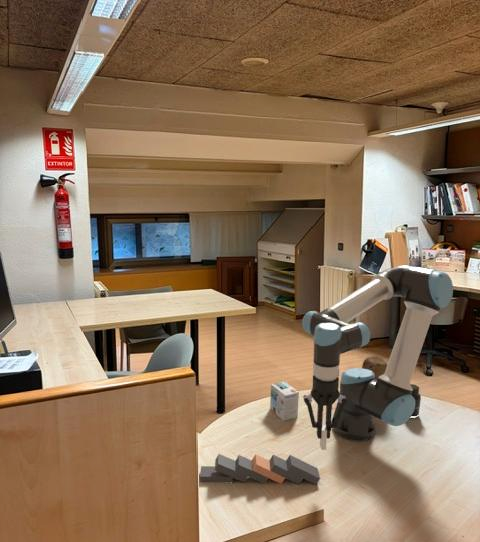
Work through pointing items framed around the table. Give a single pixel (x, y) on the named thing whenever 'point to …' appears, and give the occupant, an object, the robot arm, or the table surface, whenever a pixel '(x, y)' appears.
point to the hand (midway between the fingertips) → (323, 446)
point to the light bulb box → (284, 401)
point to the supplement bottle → (416, 399)
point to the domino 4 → (265, 468)
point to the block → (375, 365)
